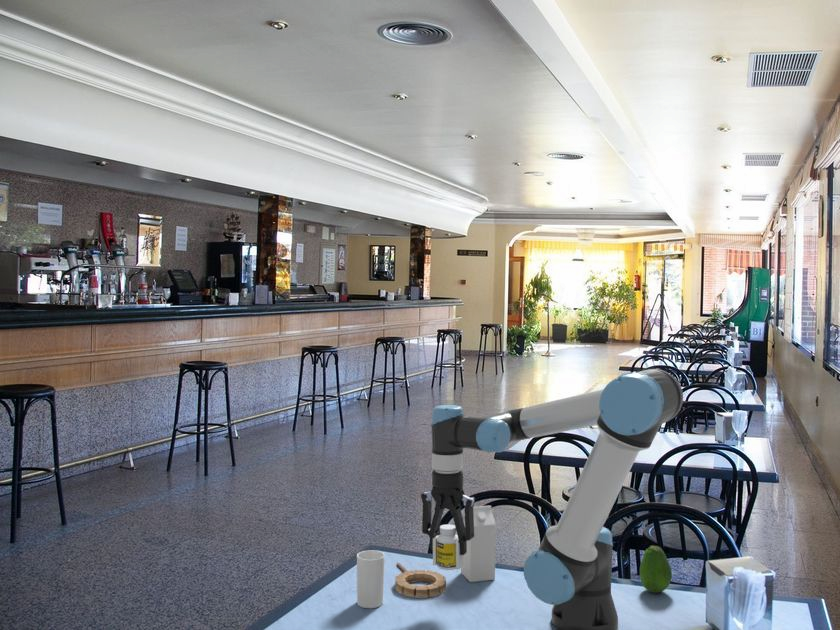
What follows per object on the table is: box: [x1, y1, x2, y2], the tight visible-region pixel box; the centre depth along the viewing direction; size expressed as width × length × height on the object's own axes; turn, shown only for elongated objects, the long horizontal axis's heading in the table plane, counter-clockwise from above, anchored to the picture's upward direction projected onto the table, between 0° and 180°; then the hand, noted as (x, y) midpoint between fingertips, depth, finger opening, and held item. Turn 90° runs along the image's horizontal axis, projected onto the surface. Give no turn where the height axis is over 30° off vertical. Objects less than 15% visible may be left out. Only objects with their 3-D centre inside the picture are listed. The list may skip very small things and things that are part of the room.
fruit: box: [639, 545, 673, 594], centre depth 197 cm, size 8×8×12 cm
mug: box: [356, 549, 385, 609], centre depth 189 cm, size 10×7×12 cm, turn 168°
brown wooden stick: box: [396, 562, 408, 573], centre depth 209 cm, size 10×1×1 cm, turn 22°
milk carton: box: [460, 505, 497, 583], centre depth 206 cm, size 7×7×19 cm
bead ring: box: [394, 569, 447, 599], centre depth 198 cm, size 13×13×2 cm
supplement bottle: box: [436, 523, 459, 571], centre depth 185 cm, size 5×5×10 cm
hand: (448, 565), depth 185 cm, fingers closed on supplement bottle, 5 cm apart
